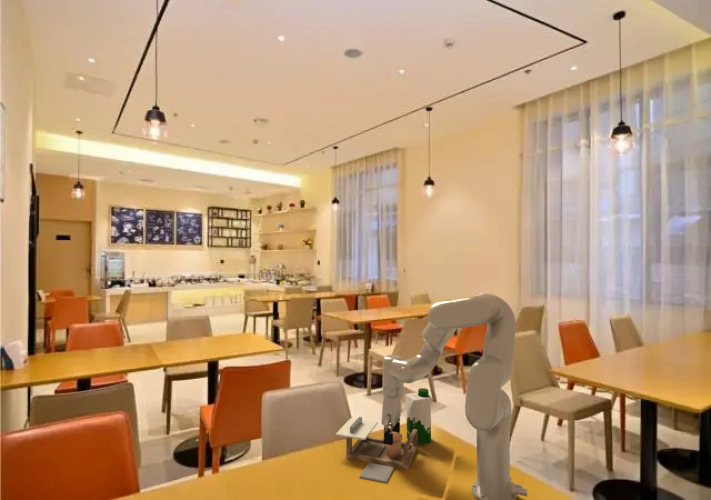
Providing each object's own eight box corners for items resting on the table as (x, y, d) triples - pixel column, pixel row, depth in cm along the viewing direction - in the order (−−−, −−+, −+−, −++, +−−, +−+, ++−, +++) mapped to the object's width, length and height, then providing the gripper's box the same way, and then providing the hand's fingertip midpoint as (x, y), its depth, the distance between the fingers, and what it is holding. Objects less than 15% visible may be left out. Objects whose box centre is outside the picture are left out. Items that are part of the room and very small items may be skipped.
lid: (377, 423, 153) (377, 416, 153) (364, 440, 139) (364, 432, 139) (350, 419, 157) (350, 412, 157) (335, 435, 143) (335, 428, 143)
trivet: (394, 471, 134) (394, 467, 134) (386, 486, 125) (386, 481, 125) (368, 467, 137) (368, 462, 137) (359, 480, 128) (359, 475, 129)
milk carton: (434, 445, 152) (434, 392, 153) (413, 449, 150) (412, 395, 150) (424, 436, 161) (423, 385, 161) (403, 439, 158) (403, 388, 158)
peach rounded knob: (403, 452, 145) (403, 433, 145) (399, 460, 139) (399, 440, 139) (387, 449, 147) (387, 430, 147) (383, 457, 141) (383, 437, 141)
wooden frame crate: (417, 451, 148) (417, 429, 148) (407, 472, 133) (407, 448, 133) (361, 441, 156) (361, 421, 156) (346, 461, 141) (346, 438, 141)
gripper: (389, 382, 153) (388, 426, 153) (375, 397, 137) (374, 447, 137) (408, 384, 151) (407, 430, 150) (396, 400, 134) (396, 451, 134)
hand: (391, 438), depth 144 cm, fingers open, 9 cm apart
